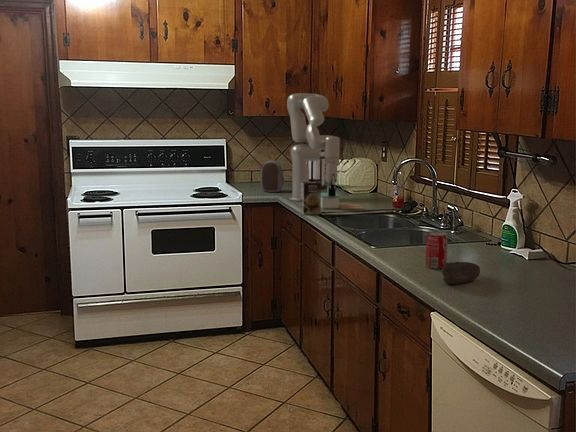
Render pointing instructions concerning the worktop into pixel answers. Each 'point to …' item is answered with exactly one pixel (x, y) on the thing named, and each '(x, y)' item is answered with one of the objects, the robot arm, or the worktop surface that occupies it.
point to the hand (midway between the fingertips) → (331, 195)
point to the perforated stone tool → (460, 272)
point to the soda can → (436, 250)
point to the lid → (326, 195)
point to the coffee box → (310, 198)
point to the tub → (329, 203)
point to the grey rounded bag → (272, 176)
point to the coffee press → (317, 169)
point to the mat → (350, 206)
